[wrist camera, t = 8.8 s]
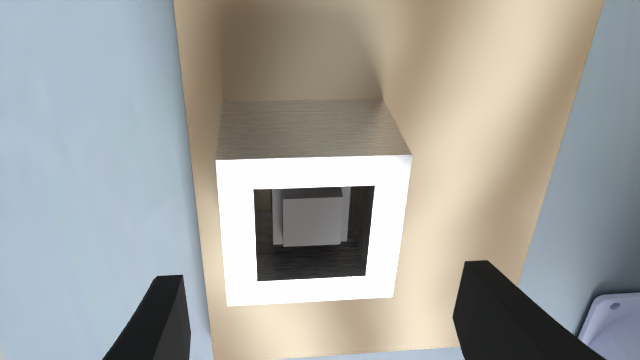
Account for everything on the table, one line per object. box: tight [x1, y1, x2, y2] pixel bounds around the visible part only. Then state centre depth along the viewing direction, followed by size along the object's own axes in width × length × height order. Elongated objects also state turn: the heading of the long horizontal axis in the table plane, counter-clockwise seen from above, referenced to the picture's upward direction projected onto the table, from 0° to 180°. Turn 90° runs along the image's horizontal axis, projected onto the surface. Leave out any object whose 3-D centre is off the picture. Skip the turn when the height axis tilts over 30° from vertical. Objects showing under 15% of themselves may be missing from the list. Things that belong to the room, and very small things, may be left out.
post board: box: [173, 0, 605, 360], centre depth 20 cm, size 14×18×5 cm
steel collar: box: [216, 99, 412, 306], centre depth 18 cm, size 6×6×4 cm
